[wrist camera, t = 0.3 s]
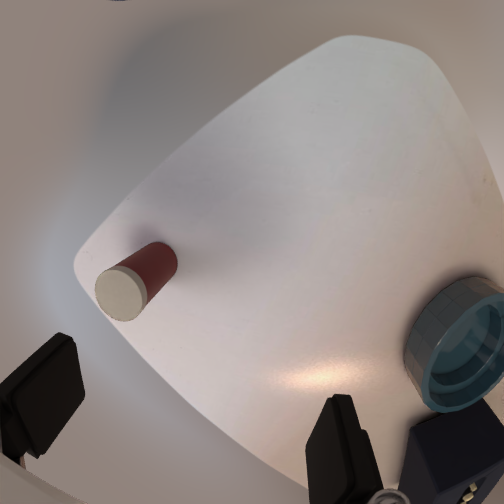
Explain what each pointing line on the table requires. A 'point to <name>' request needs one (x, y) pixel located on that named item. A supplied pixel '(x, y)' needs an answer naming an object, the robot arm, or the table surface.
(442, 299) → the basin
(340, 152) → the table surface
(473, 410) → the speaker
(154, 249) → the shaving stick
